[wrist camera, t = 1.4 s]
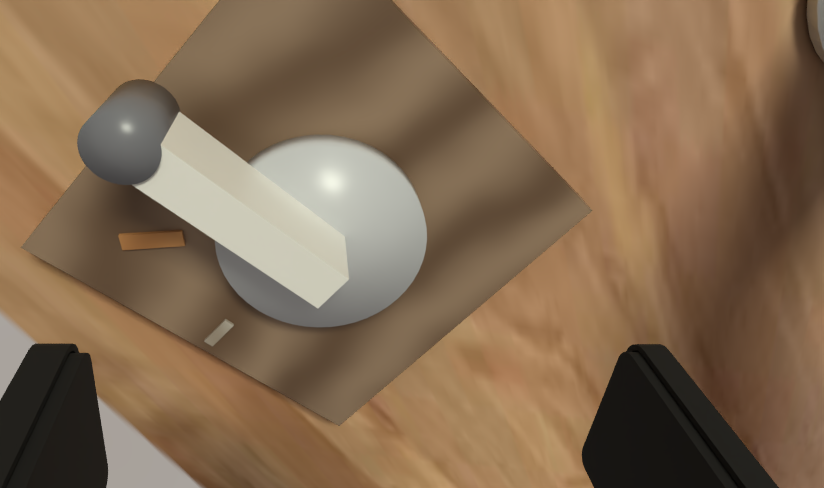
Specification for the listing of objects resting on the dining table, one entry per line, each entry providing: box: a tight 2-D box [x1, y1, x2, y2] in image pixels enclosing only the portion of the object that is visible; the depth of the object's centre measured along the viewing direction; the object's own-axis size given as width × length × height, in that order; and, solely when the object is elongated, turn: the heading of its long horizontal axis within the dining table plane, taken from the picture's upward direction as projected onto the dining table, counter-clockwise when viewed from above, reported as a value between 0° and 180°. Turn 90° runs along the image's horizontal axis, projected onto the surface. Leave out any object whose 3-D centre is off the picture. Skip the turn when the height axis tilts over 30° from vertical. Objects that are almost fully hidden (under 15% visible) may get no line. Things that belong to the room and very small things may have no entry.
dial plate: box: [21, 0, 592, 426], centre depth 34 cm, size 22×22×2 cm
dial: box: [77, 79, 427, 327], centre depth 29 cm, size 18×11×6 cm, turn 45°
